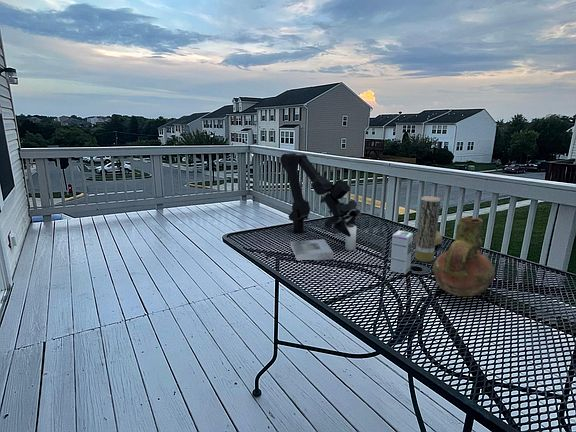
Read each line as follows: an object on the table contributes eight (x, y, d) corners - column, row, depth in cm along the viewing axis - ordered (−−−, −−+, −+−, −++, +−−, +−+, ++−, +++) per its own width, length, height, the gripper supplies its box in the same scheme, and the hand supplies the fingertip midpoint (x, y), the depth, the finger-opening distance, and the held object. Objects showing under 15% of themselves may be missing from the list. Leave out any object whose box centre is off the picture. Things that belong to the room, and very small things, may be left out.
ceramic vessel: (496, 282, 110) (510, 212, 103) (482, 318, 90) (497, 233, 83) (443, 269, 120) (451, 204, 113) (420, 298, 101) (428, 221, 94)
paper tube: (429, 255, 132) (437, 196, 125) (435, 262, 125) (443, 200, 118) (412, 255, 133) (418, 196, 125) (417, 262, 126) (424, 200, 119)
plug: (343, 247, 142) (344, 223, 139) (352, 245, 143) (353, 222, 140) (348, 250, 138) (349, 226, 135) (357, 249, 139) (358, 225, 136)
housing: (290, 247, 142) (290, 241, 141) (323, 245, 144) (324, 239, 143) (296, 261, 128) (296, 254, 127) (333, 259, 130) (333, 252, 129)
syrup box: (405, 275, 116) (409, 237, 112) (389, 270, 119) (392, 233, 115) (410, 269, 120) (414, 232, 116) (394, 265, 124) (398, 229, 120)
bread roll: (408, 247, 141) (410, 230, 139) (424, 239, 150) (426, 223, 148) (429, 254, 134) (432, 236, 132) (445, 244, 144) (447, 227, 141)
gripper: (330, 198, 131) (351, 230, 126) (358, 191, 143) (378, 220, 138) (316, 212, 139) (335, 243, 134) (343, 205, 151) (362, 233, 146)
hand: (353, 234), depth 138 cm, fingers closed on plug, 4 cm apart
